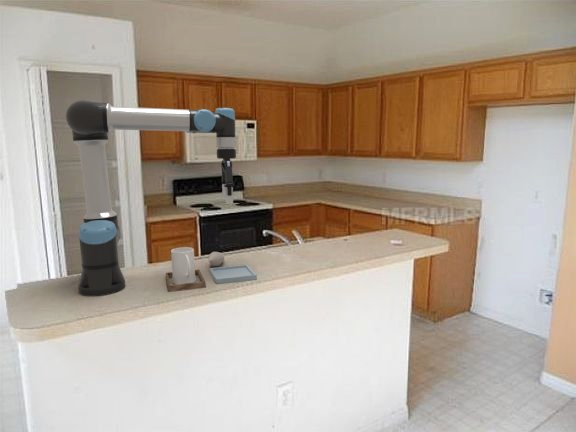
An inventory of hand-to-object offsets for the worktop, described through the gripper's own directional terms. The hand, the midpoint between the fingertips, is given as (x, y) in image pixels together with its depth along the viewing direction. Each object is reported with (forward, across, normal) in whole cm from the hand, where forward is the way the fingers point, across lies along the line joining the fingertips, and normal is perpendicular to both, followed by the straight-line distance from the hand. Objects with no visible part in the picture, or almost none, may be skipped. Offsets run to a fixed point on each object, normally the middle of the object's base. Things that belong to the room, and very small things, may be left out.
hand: (227, 201), depth 172 cm
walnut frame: (+27, -17, +18) cm, 37 cm away
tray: (+27, -14, 0) cm, 30 cm away
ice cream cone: (+27, +1, +6) cm, 28 cm away
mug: (+27, -17, +18) cm, 37 cm away
